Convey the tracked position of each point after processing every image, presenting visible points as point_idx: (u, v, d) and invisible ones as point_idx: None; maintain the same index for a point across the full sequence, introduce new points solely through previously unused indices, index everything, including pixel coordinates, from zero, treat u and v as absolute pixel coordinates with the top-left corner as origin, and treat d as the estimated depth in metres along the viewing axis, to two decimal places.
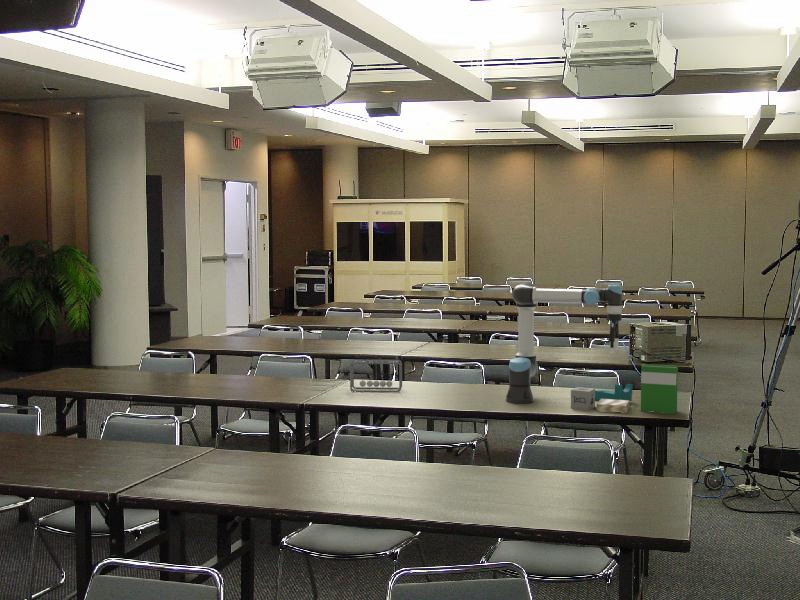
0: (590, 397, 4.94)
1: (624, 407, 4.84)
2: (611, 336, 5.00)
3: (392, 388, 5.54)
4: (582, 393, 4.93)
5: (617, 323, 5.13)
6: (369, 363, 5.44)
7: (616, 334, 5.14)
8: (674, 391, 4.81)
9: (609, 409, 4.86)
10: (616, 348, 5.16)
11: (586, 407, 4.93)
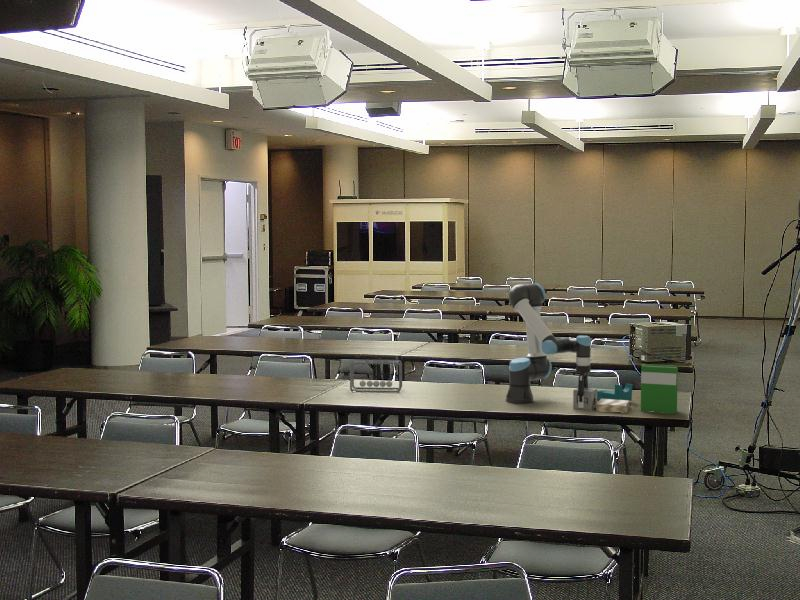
0: (593, 397, 4.93)
1: (624, 407, 4.84)
2: (580, 390, 4.90)
3: (392, 388, 5.54)
4: (585, 393, 4.93)
5: (586, 375, 5.02)
6: (369, 363, 5.44)
7: (585, 387, 5.02)
8: (674, 391, 4.81)
9: (609, 409, 4.86)
10: None
11: (589, 407, 4.92)
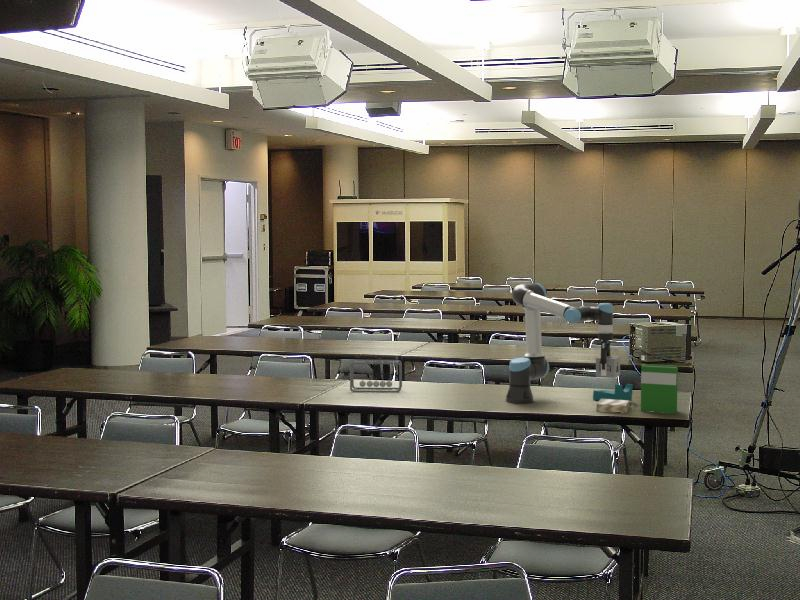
0: (615, 365, 4.87)
1: (624, 407, 4.84)
2: (602, 358, 4.84)
3: (392, 388, 5.54)
4: (607, 361, 4.87)
5: None
6: (369, 363, 5.44)
7: (607, 355, 4.96)
8: (674, 391, 4.81)
9: (609, 409, 4.86)
10: None
11: (612, 375, 4.86)
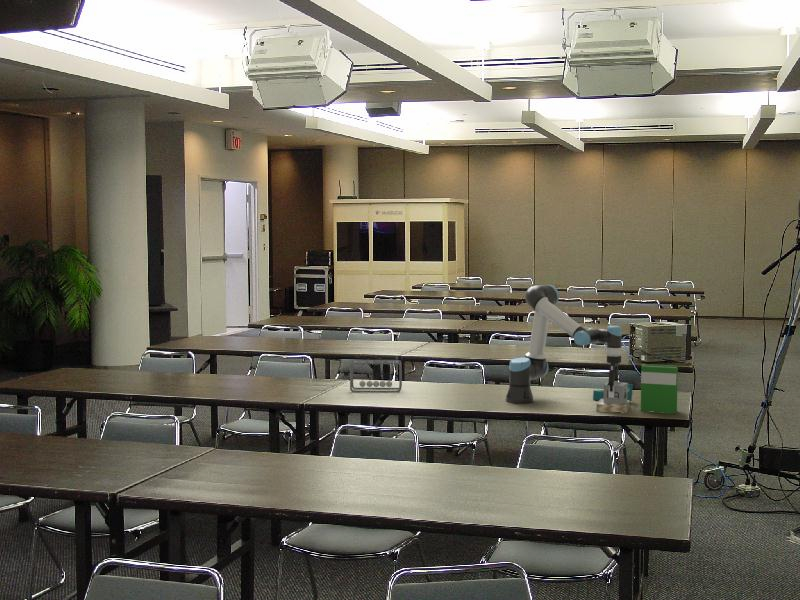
0: (623, 391, 4.87)
1: (624, 407, 4.84)
2: (610, 380, 4.83)
3: (392, 388, 5.54)
4: (615, 387, 4.87)
5: (616, 365, 4.96)
6: (369, 363, 5.44)
7: (615, 376, 4.97)
8: (674, 391, 4.81)
9: (609, 409, 4.86)
10: None
11: (620, 401, 4.86)
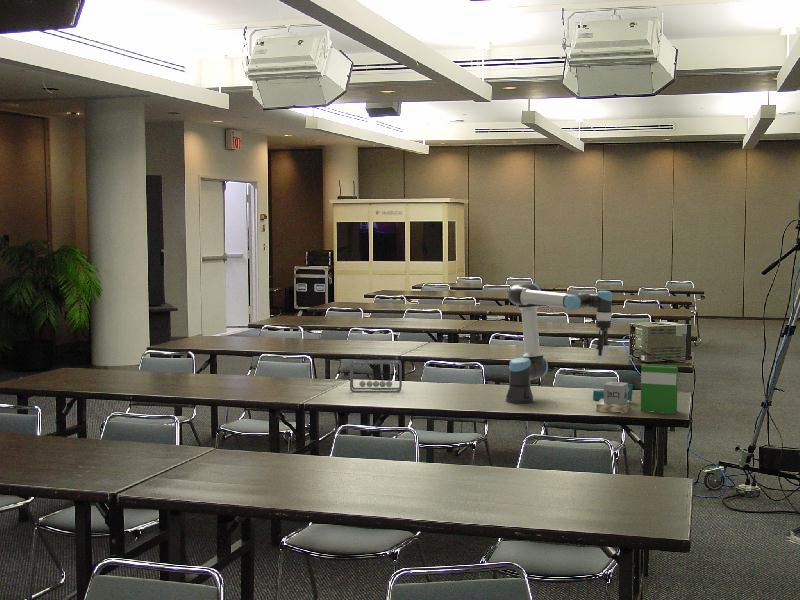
0: (624, 391, 4.87)
1: (624, 407, 4.84)
2: (599, 344, 4.87)
3: (392, 388, 5.54)
4: (616, 387, 4.86)
5: (606, 330, 5.00)
6: (369, 363, 5.43)
7: (605, 341, 5.00)
8: (674, 391, 4.81)
9: (609, 409, 4.86)
10: (604, 355, 5.02)
11: (620, 401, 4.86)
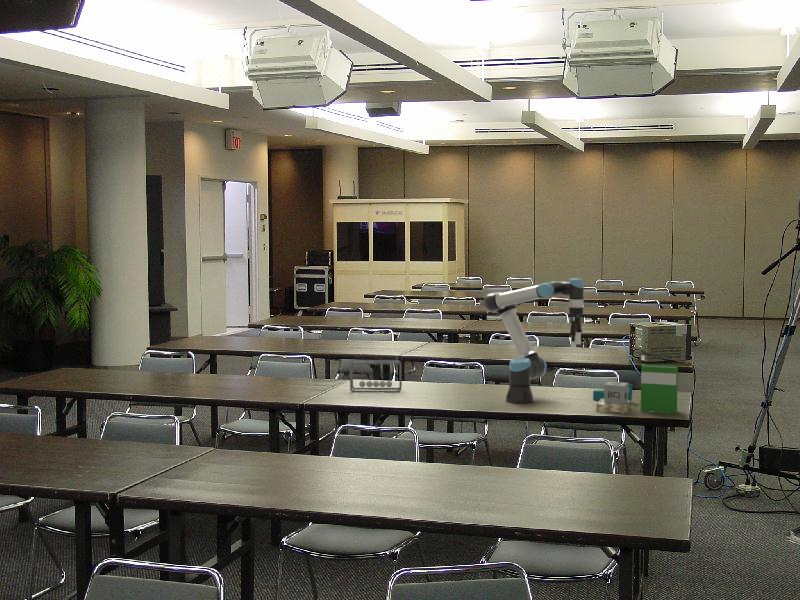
0: (624, 392, 4.87)
1: (624, 407, 4.84)
2: (572, 330, 4.98)
3: (391, 388, 5.54)
4: (616, 388, 4.86)
5: (579, 317, 5.11)
6: (369, 363, 5.43)
7: (578, 328, 5.12)
8: (674, 391, 4.81)
9: (609, 409, 4.86)
10: (578, 342, 5.13)
11: (620, 402, 4.85)
